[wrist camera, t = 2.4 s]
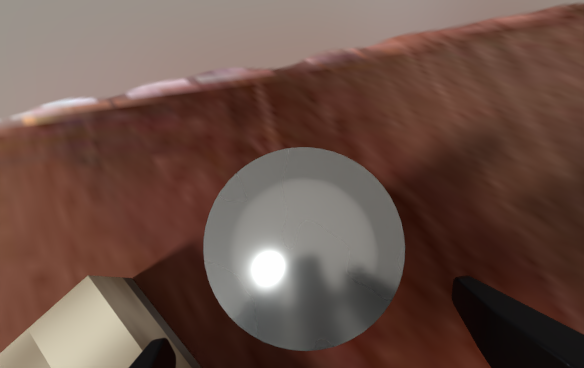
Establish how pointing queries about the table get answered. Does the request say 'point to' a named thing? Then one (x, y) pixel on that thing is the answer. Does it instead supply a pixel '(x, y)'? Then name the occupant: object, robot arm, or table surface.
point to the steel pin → (304, 249)
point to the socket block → (94, 330)
